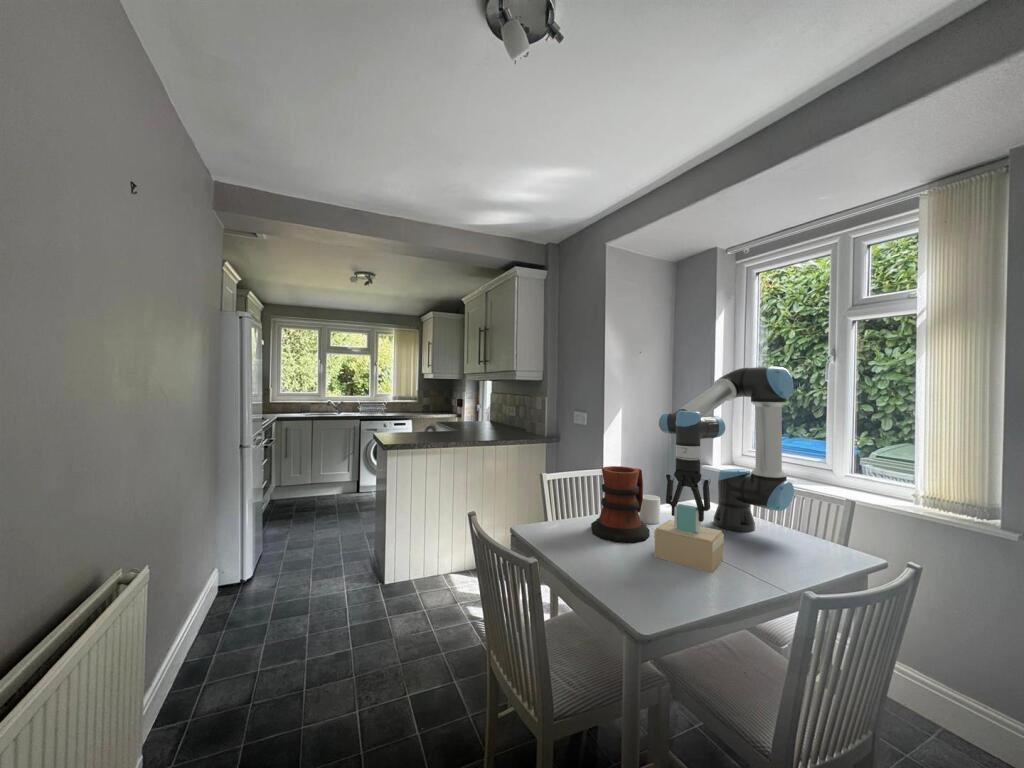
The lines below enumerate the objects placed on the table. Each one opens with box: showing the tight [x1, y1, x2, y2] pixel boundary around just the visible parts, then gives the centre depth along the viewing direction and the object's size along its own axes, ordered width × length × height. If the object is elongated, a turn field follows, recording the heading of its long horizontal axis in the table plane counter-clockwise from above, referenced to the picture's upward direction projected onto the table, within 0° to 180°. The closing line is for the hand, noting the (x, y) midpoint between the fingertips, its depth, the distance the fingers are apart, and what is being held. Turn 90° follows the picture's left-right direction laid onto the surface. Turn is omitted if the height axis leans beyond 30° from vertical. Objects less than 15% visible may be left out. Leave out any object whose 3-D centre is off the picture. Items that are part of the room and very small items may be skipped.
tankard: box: [590, 465, 651, 544], centre depth 165 cm, size 22×25×25 cm
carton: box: [653, 519, 725, 574], centre depth 140 cm, size 12×18×10 cm, turn 50°
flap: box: [655, 503, 717, 543], centre depth 137 cm, size 6×17×9 cm, turn 50°
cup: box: [638, 494, 661, 525], centre depth 180 cm, size 8×12×10 cm
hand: (687, 528), depth 139 cm, fingers open, 6 cm apart
